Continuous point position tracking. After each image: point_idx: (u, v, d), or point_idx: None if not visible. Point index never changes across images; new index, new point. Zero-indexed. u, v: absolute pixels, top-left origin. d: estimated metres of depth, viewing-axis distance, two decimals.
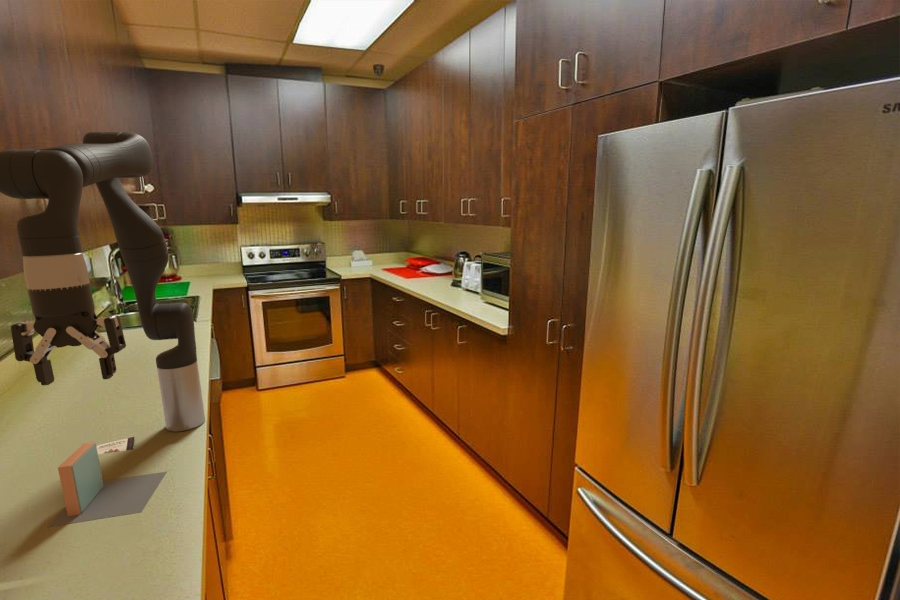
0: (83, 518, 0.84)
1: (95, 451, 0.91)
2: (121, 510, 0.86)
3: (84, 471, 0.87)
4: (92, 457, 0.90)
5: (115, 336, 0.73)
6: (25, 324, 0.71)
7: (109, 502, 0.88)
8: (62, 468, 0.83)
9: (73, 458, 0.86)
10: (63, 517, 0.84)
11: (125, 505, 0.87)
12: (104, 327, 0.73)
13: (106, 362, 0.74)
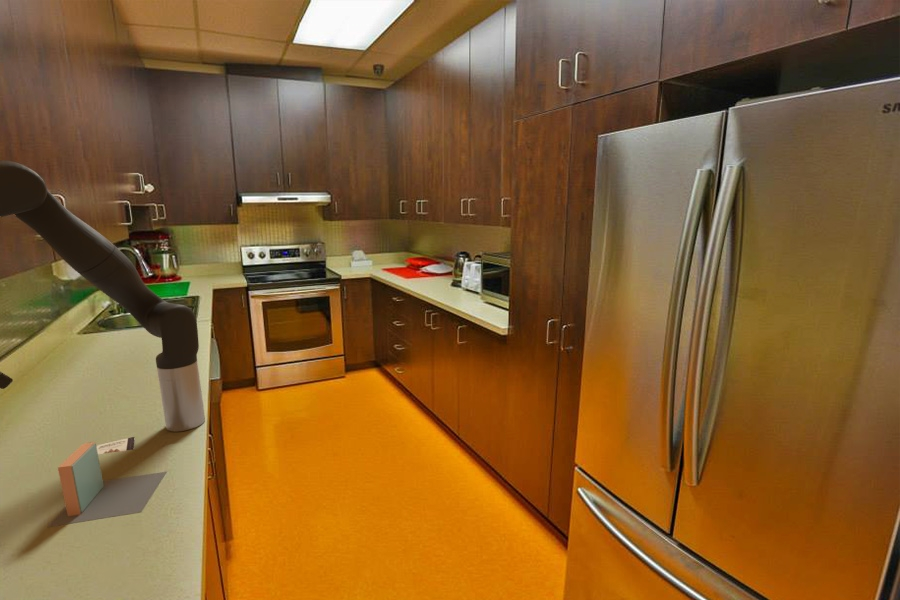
0: (83, 518, 0.84)
1: (95, 451, 0.91)
2: (121, 510, 0.86)
3: (84, 471, 0.87)
4: (92, 457, 0.90)
5: None
6: None
7: (109, 502, 0.88)
8: (62, 468, 0.83)
9: (73, 458, 0.86)
10: (63, 517, 0.84)
11: (125, 505, 0.87)
12: None
13: None
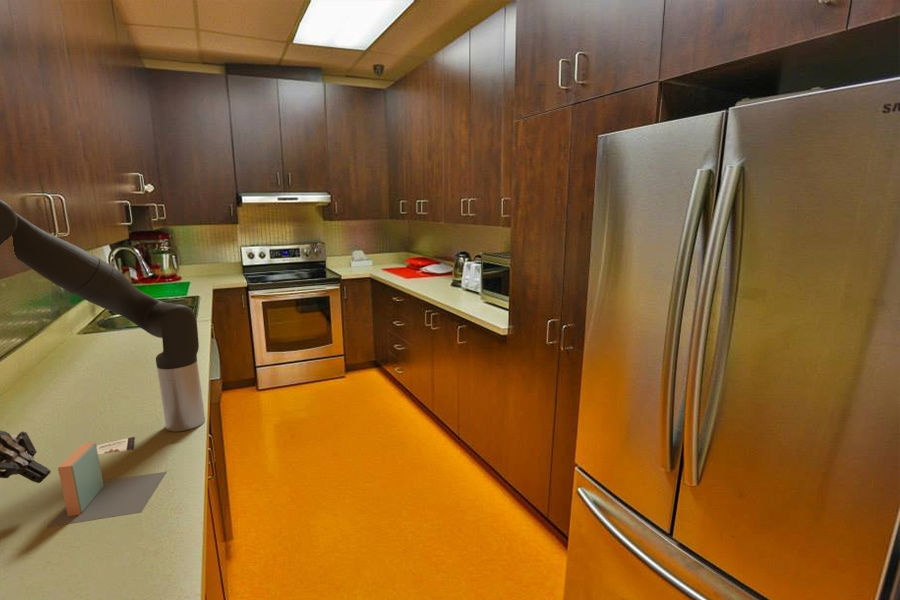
0: (83, 518, 0.84)
1: (95, 451, 0.91)
2: (121, 510, 0.86)
3: (84, 471, 0.87)
4: (92, 457, 0.90)
5: None
6: (12, 438, 0.88)
7: (109, 502, 0.88)
8: (62, 468, 0.83)
9: (73, 458, 0.86)
10: (63, 517, 0.84)
11: (125, 505, 0.87)
12: None
13: None
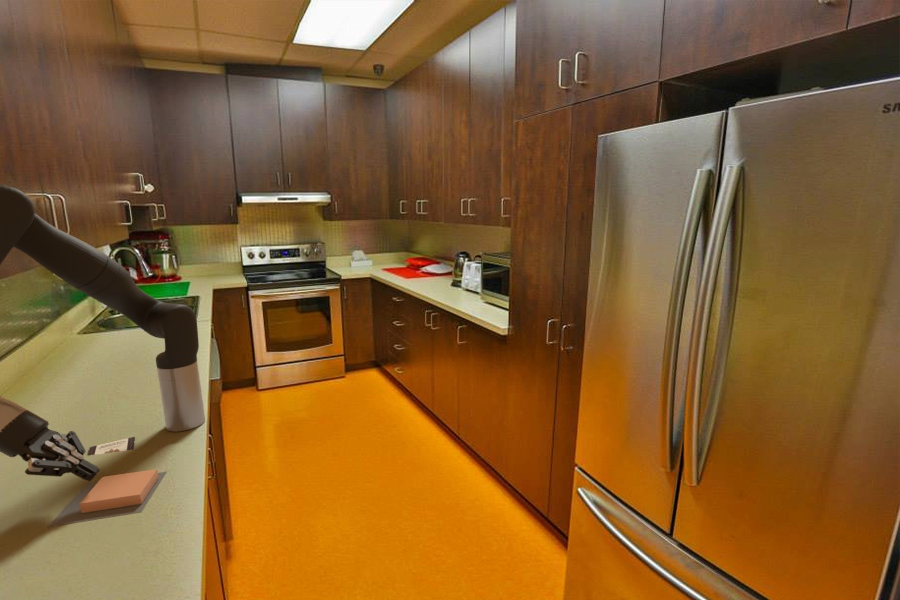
0: (83, 518, 0.84)
1: None
2: (121, 510, 0.86)
3: None
4: None
5: (46, 475, 0.83)
6: (61, 437, 0.91)
7: None
8: (138, 498, 0.87)
9: (146, 490, 0.90)
10: (63, 517, 0.84)
11: None
12: None
13: None
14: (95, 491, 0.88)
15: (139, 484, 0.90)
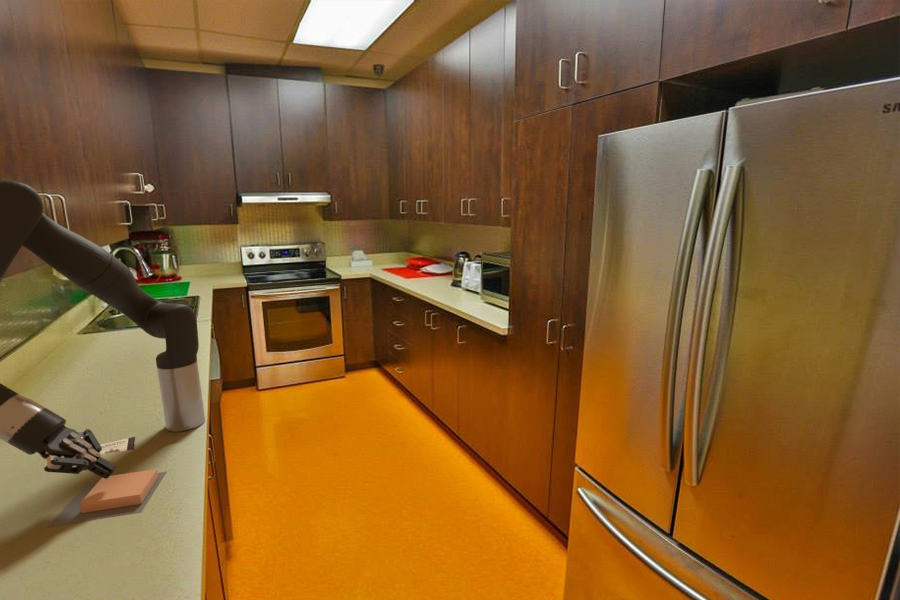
0: (83, 518, 0.84)
1: None
2: (121, 510, 0.86)
3: None
4: None
5: (64, 472, 0.83)
6: None
7: None
8: (138, 498, 0.87)
9: (146, 490, 0.90)
10: (63, 517, 0.84)
11: None
12: None
13: None
14: (95, 491, 0.88)
15: (139, 484, 0.90)
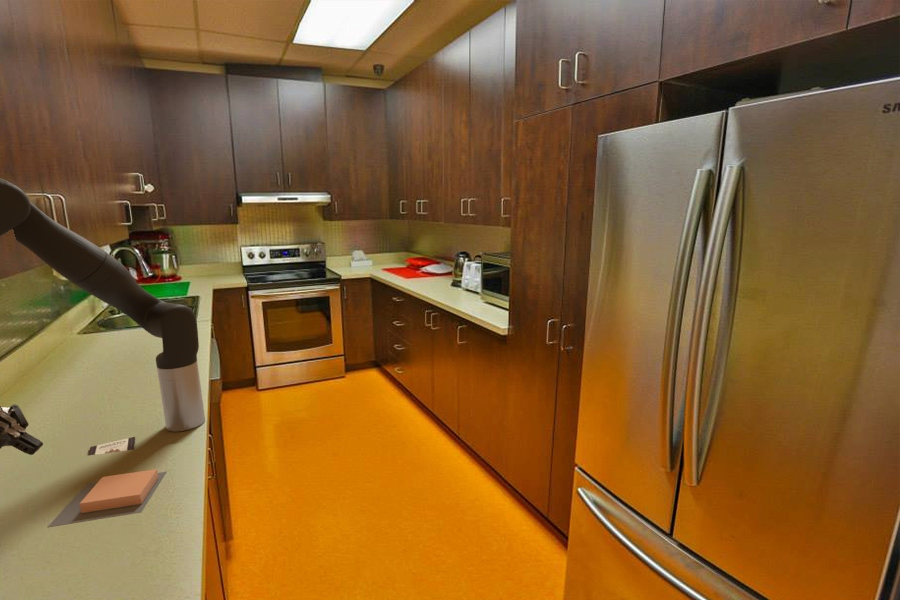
0: (83, 518, 0.84)
1: None
2: (121, 510, 0.86)
3: None
4: None
5: None
6: None
7: None
8: (138, 498, 0.87)
9: (146, 490, 0.90)
10: (63, 517, 0.84)
11: None
12: None
13: None
14: (95, 491, 0.88)
15: (139, 484, 0.90)
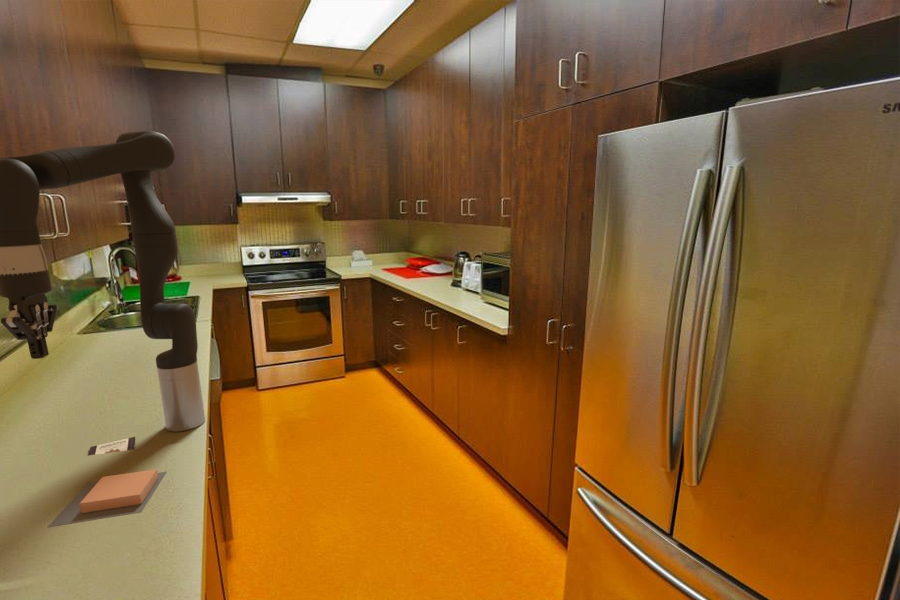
0: (83, 518, 0.84)
1: None
2: (121, 510, 0.86)
3: None
4: None
5: (11, 332, 0.83)
6: None
7: None
8: (138, 498, 0.87)
9: (146, 490, 0.90)
10: (63, 517, 0.84)
11: None
12: None
13: None
14: (95, 491, 0.88)
15: (139, 484, 0.90)
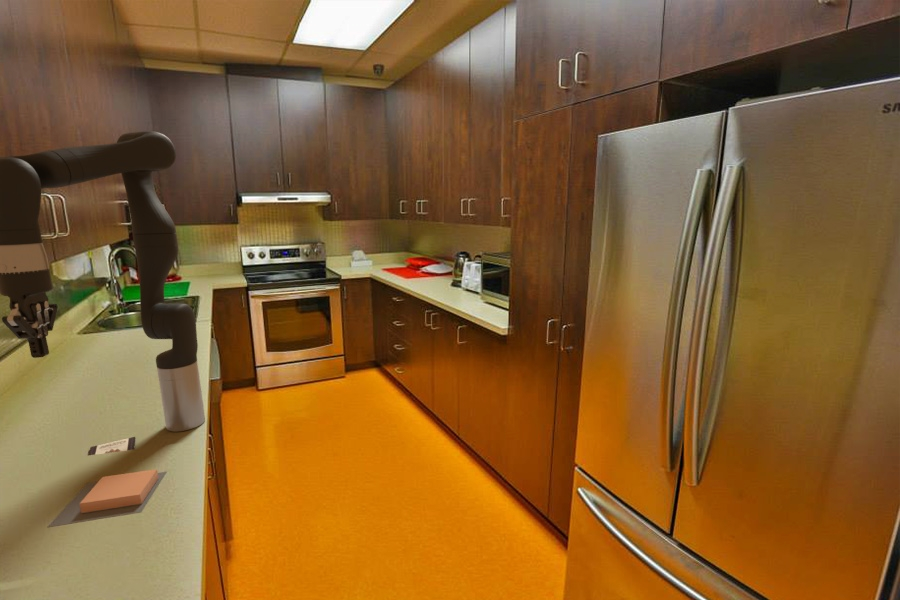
0: (83, 518, 0.84)
1: None
2: (121, 510, 0.86)
3: None
4: None
5: (11, 330, 0.83)
6: None
7: None
8: (138, 498, 0.87)
9: (146, 490, 0.90)
10: (63, 517, 0.84)
11: None
12: None
13: None
14: (95, 491, 0.88)
15: (139, 484, 0.90)
